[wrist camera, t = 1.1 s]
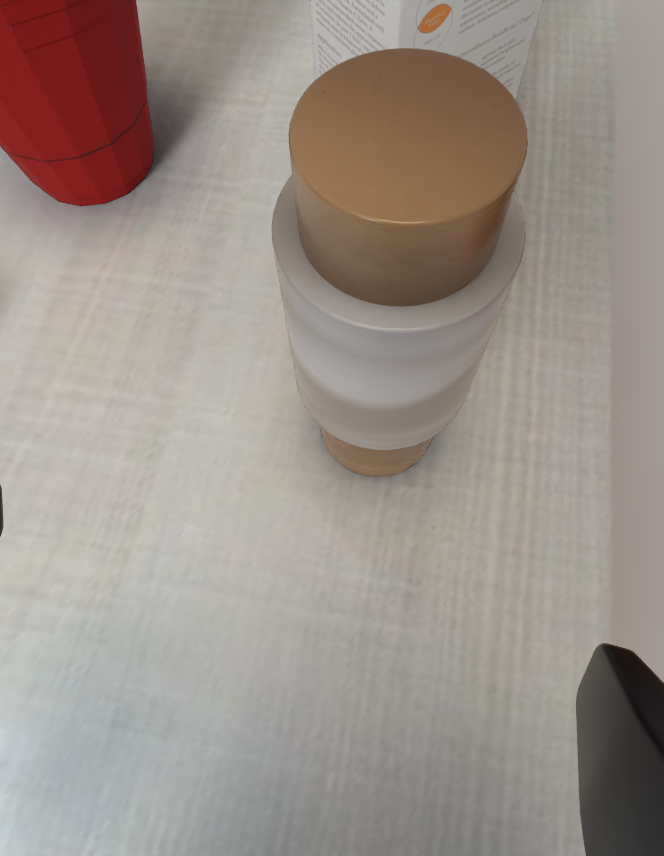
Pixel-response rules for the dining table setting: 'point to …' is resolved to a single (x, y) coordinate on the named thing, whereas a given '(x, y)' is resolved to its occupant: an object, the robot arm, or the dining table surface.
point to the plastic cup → (75, 97)
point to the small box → (428, 31)
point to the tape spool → (396, 246)
